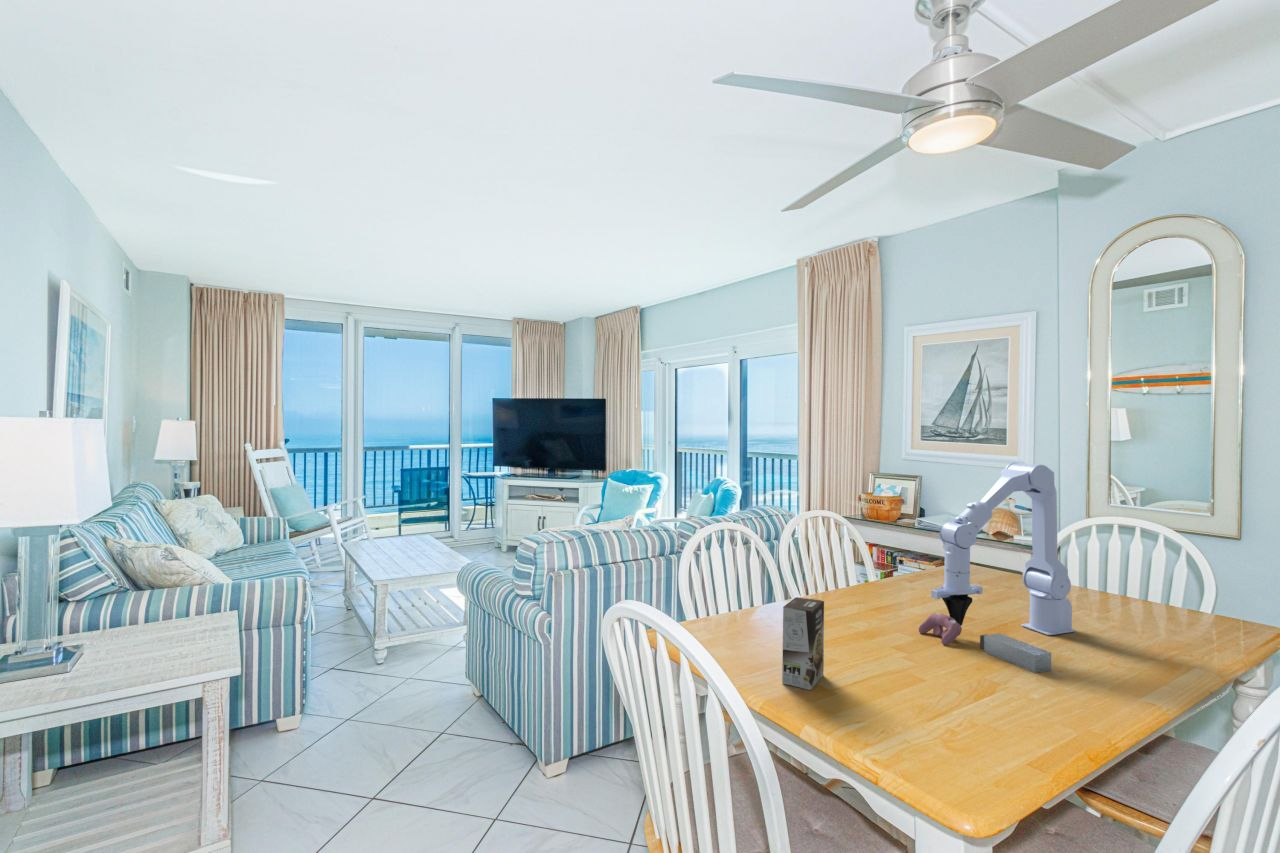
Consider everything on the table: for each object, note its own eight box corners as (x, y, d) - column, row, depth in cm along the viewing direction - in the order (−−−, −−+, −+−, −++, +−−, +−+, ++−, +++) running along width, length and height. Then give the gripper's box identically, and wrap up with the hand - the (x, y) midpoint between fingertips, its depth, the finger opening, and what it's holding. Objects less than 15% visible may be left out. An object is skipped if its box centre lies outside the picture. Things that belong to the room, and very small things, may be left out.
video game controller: (956, 651, 152) (968, 624, 153) (942, 644, 151) (953, 617, 152) (929, 637, 162) (939, 612, 162) (915, 630, 161) (926, 605, 161)
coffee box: (812, 691, 126) (812, 611, 126) (781, 683, 129) (781, 606, 129) (824, 675, 134) (825, 600, 133) (795, 669, 137) (795, 595, 137)
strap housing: (999, 649, 149) (999, 633, 149) (1051, 670, 137) (1051, 652, 137) (984, 651, 147) (984, 635, 147) (1034, 673, 135) (1035, 655, 135)
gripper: (966, 564, 163) (966, 616, 164) (922, 569, 159) (921, 622, 159) (989, 571, 157) (989, 625, 157) (943, 575, 152) (943, 631, 152)
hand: (956, 624), depth 157 cm, fingers closed
